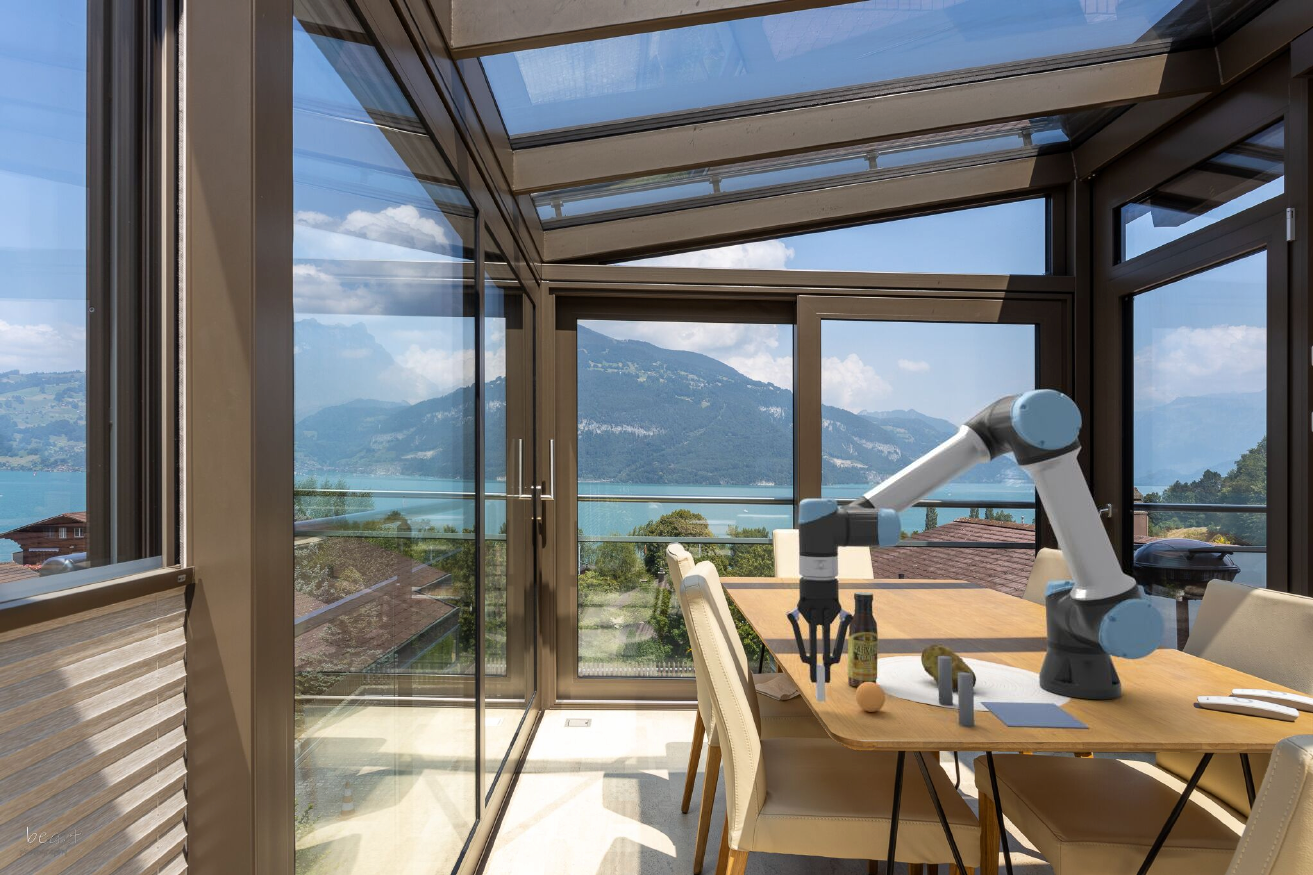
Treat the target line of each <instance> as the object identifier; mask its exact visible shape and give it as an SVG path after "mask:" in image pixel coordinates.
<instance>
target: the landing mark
mask: <svg viewBox="0 0 1313 875" xmlns="http://www.w3.org/2000/svg"><path fill="white" fill-rule="evenodd" d="M980 704H982V705H983V706H984V707H985V708H986V709H987V710H988V711H989V712H991V713H992V714H993V715H994V716H995V717H996V718H997V719H998V720H1000V721H1001V722H1002V723H1004V725H1006V726H1007V727H1013V728H1015V727H1016V728H1017V727H1020V728H1050V729H1051V728H1053V729H1054V728H1057V729H1058V728H1059V729H1060V728H1061V729H1089V726H1088V725H1086V724H1085V723H1083V722H1082V721H1080V720H1078V718H1076V717H1074V716H1073V715H1071V714H1070V713H1069V712H1067V711H1065V709H1063V708H1061V707H1060V706H1058V705H1057V704H1056V703H1052V702H1051V703H1050V702H1045V703H1044V702H1014V701H1013V702H1004V701H1001V702H1000V701H980Z"/></svg>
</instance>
